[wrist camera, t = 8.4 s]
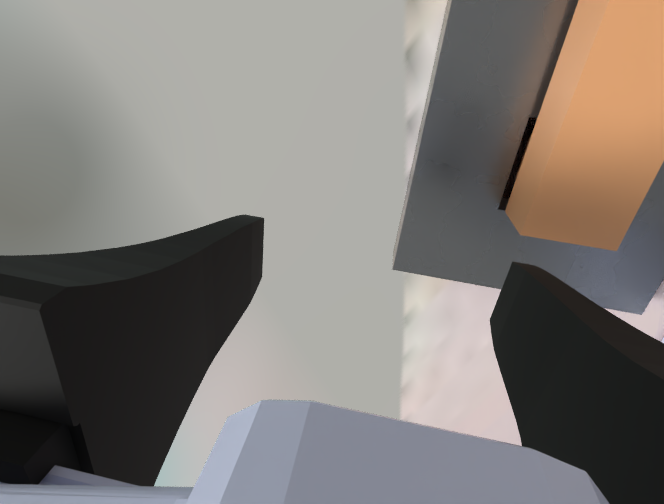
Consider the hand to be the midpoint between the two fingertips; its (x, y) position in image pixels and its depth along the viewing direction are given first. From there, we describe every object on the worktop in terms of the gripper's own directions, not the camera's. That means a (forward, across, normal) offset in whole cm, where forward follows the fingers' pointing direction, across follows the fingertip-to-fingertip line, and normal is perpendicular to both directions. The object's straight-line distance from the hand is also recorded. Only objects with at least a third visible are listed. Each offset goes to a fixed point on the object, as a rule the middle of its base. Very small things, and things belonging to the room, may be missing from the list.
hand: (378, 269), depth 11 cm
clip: (+9, -7, -6) cm, 13 cm away
